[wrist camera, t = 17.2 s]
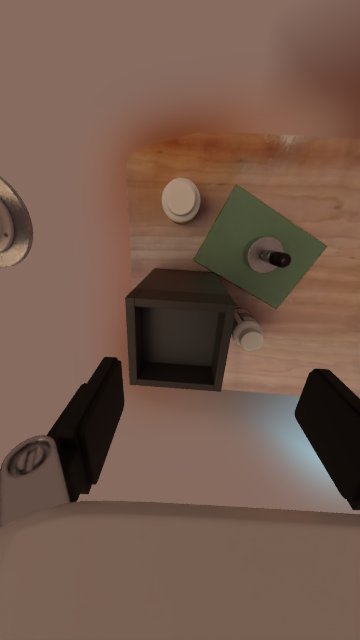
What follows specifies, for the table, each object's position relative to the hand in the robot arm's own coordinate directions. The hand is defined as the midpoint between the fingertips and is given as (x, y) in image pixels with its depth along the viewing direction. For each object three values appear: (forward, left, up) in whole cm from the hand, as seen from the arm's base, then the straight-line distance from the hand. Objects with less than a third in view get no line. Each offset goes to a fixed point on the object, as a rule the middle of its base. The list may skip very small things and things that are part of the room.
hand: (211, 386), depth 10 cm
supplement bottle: (-8, +9, -33) cm, 35 cm away
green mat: (+9, +9, -33) cm, 35 cm away
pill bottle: (+14, -4, -33) cm, 36 cm away
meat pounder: (+9, +9, -32) cm, 34 cm away
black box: (+1, -6, -33) cm, 33 cm away
